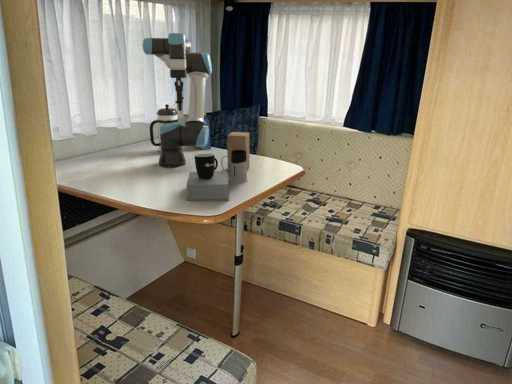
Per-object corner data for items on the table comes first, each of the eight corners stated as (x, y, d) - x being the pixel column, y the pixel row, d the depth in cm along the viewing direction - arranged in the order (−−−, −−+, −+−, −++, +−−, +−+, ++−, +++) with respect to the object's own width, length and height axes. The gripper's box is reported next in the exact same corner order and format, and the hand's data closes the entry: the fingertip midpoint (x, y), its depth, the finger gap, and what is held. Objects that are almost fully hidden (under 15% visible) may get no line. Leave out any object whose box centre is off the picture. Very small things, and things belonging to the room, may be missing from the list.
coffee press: (161, 148, 273) (157, 102, 263) (184, 149, 271) (182, 103, 261) (151, 154, 257) (147, 106, 247) (176, 156, 255) (173, 106, 245)
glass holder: (250, 181, 208) (251, 152, 203) (225, 185, 201) (225, 155, 196) (242, 176, 215) (242, 148, 210) (217, 181, 208) (217, 152, 203)
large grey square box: (189, 187, 200) (189, 171, 197) (228, 186, 201) (228, 171, 199) (186, 202, 181) (185, 185, 178) (229, 201, 182) (229, 184, 179)
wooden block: (245, 173, 222) (245, 136, 216) (227, 171, 224) (227, 135, 217) (249, 168, 231) (249, 132, 225) (232, 166, 233) (231, 131, 227)
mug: (205, 180, 182) (203, 157, 179) (191, 177, 188) (190, 155, 185) (224, 175, 191) (223, 153, 188) (211, 173, 196) (210, 152, 194)
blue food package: (202, 150, 270) (201, 111, 261) (194, 146, 279) (192, 109, 271) (211, 149, 273) (210, 110, 265) (202, 145, 282) (200, 108, 274)
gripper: (170, 67, 202) (172, 111, 209) (169, 70, 179) (172, 119, 186) (185, 67, 203) (187, 111, 210) (186, 70, 180) (189, 119, 187)
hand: (180, 115), depth 198 cm, fingers open, 13 cm apart
